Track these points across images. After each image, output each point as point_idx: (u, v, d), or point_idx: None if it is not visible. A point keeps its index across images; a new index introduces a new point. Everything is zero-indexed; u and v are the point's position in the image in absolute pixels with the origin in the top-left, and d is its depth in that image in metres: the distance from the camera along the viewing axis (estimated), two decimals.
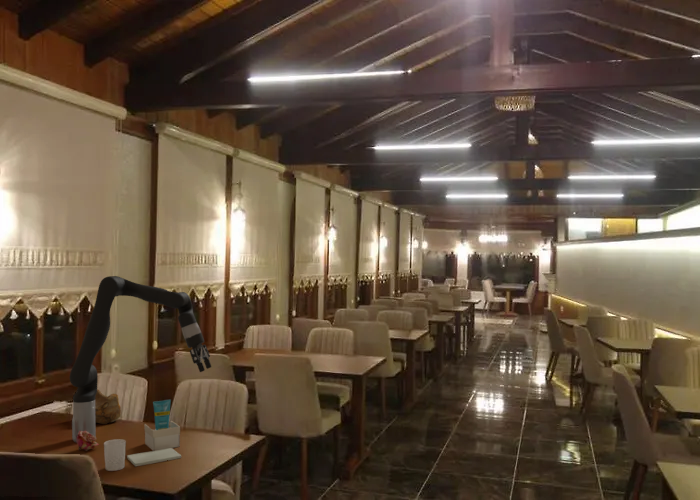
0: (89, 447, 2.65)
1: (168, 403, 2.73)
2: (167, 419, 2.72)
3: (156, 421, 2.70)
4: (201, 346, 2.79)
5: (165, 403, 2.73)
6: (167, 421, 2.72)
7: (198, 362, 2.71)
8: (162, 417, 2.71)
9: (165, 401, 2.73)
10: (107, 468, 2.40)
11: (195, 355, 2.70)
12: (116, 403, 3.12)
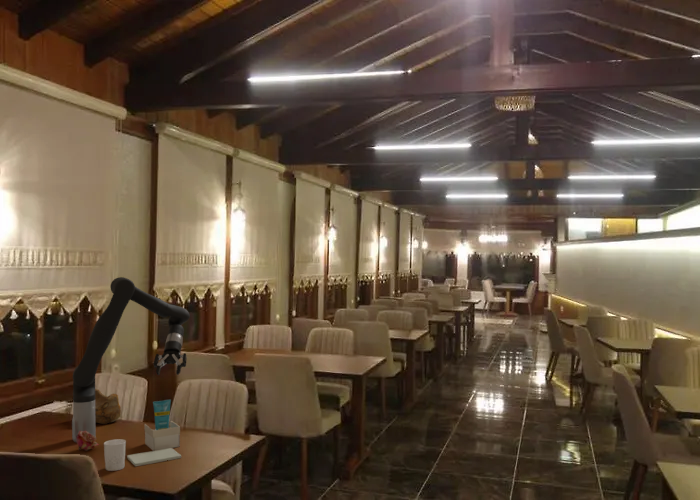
0: (89, 447, 2.65)
1: (168, 403, 2.73)
2: (167, 419, 2.72)
3: (156, 421, 2.70)
4: None
5: (165, 403, 2.73)
6: (167, 421, 2.72)
7: (182, 366, 2.88)
8: (162, 417, 2.71)
9: (165, 401, 2.73)
10: (107, 468, 2.40)
11: None
12: (116, 403, 3.12)
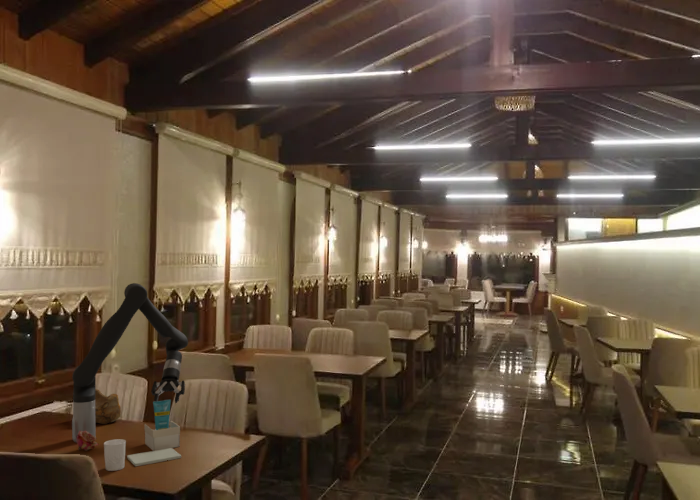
0: (89, 447, 2.65)
1: (168, 403, 2.73)
2: (167, 419, 2.72)
3: (156, 421, 2.70)
4: None
5: (165, 403, 2.73)
6: (167, 421, 2.72)
7: None
8: (162, 417, 2.71)
9: (165, 401, 2.73)
10: (107, 468, 2.40)
11: (184, 388, 2.86)
12: (116, 403, 3.12)
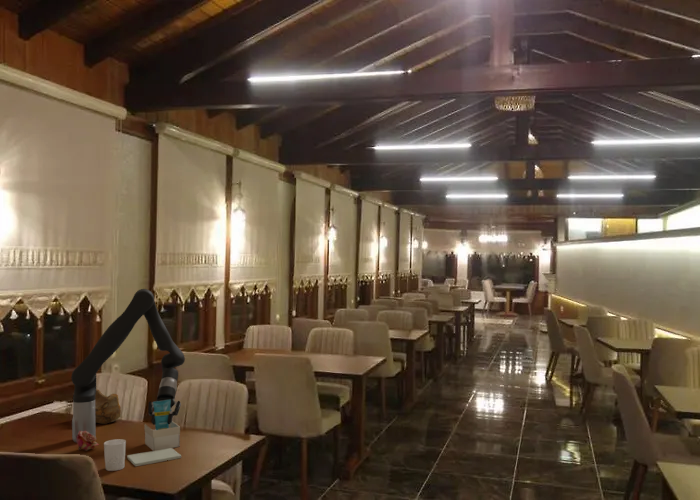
0: (89, 447, 2.65)
1: (168, 403, 2.73)
2: (167, 419, 2.72)
3: (156, 421, 2.70)
4: None
5: (165, 403, 2.73)
6: (167, 421, 2.72)
7: None
8: (162, 417, 2.71)
9: (165, 401, 2.73)
10: (107, 468, 2.40)
11: None
12: (116, 403, 3.12)
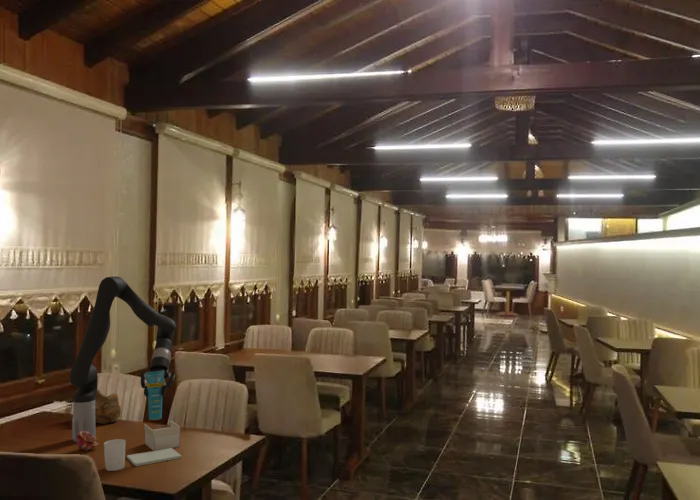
0: (89, 447, 2.65)
1: (161, 374, 2.57)
2: None
3: (149, 393, 2.54)
4: None
5: (159, 374, 2.57)
6: None
7: (168, 386, 2.58)
8: (155, 389, 2.55)
9: (159, 372, 2.57)
10: (107, 468, 2.40)
11: (173, 380, 2.61)
12: (116, 403, 3.12)
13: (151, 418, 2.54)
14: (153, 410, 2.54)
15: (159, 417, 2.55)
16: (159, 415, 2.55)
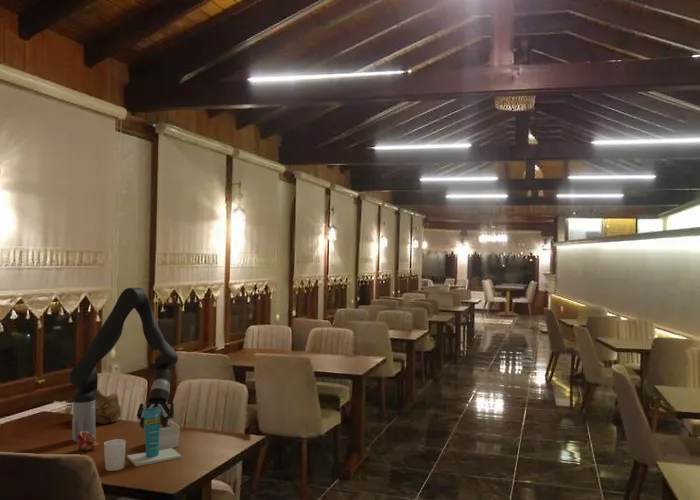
0: (89, 447, 2.65)
1: (159, 410, 2.56)
2: (158, 427, 2.55)
3: (146, 430, 2.53)
4: None
5: (156, 410, 2.56)
6: (158, 429, 2.55)
7: (169, 418, 2.57)
8: (153, 426, 2.53)
9: (156, 408, 2.56)
10: (107, 468, 2.40)
11: (173, 411, 2.60)
12: (116, 403, 3.12)
13: (148, 455, 2.52)
14: (151, 447, 2.52)
15: (156, 454, 2.53)
16: (156, 452, 2.54)
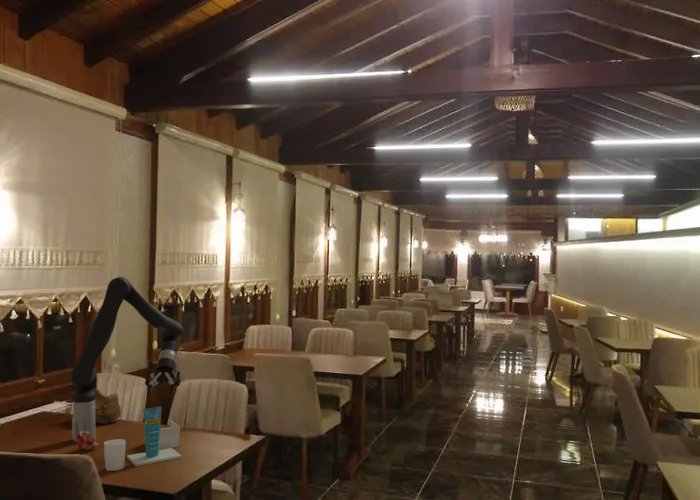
0: (89, 447, 2.65)
1: (159, 410, 2.56)
2: (158, 427, 2.55)
3: (146, 430, 2.53)
4: None
5: (156, 410, 2.56)
6: (158, 429, 2.55)
7: (176, 385, 2.71)
8: (153, 426, 2.53)
9: (156, 408, 2.56)
10: (107, 468, 2.40)
11: (179, 379, 2.74)
12: (116, 403, 3.12)
13: (148, 455, 2.52)
14: (151, 447, 2.52)
15: (156, 454, 2.53)
16: (156, 452, 2.54)
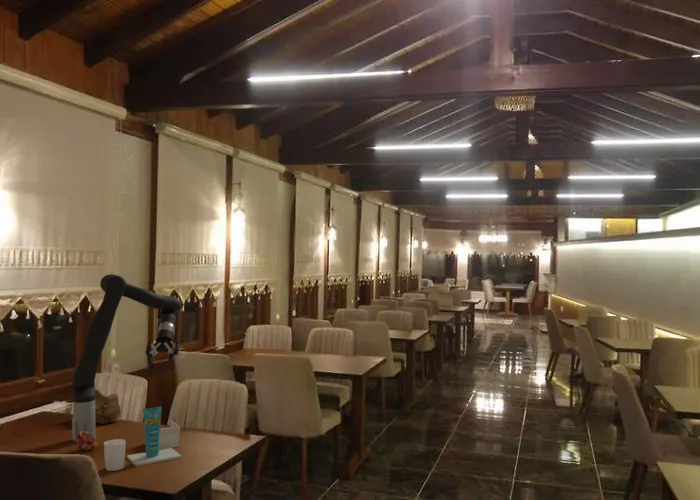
0: (89, 447, 2.65)
1: (159, 410, 2.56)
2: (158, 427, 2.55)
3: (146, 430, 2.53)
4: None
5: (156, 410, 2.56)
6: (158, 429, 2.55)
7: (174, 354, 2.90)
8: (153, 426, 2.53)
9: (156, 408, 2.56)
10: (107, 468, 2.40)
11: (178, 349, 2.92)
12: (116, 403, 3.12)
13: (148, 455, 2.52)
14: (151, 447, 2.52)
15: (156, 454, 2.53)
16: (156, 452, 2.54)
